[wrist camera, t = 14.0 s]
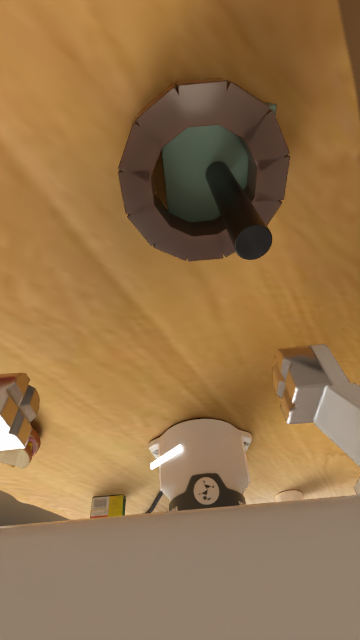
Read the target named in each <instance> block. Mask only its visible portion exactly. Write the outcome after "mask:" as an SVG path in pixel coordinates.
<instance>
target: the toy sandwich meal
mask: <svg viewBox="0 0 360 640" xmlns="http://www.w3.org/2000/svg"><path fill="white" fill-rule="evenodd" d="M39 447H40V438H39V435H38V434H37V432H36V431H35V430H33V429H32V431H31V434H30V436H29V439H28V442H27V445H26V448H20V449H11V450H3V451H0V463H4V464H7V465H9V466H12V467H15V466H16V467H19V468H26V467H27V466H28V465H29V463H30V461H31V459H32V456H34V454H36V453H37V451H38V449H39Z"/></svg>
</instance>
